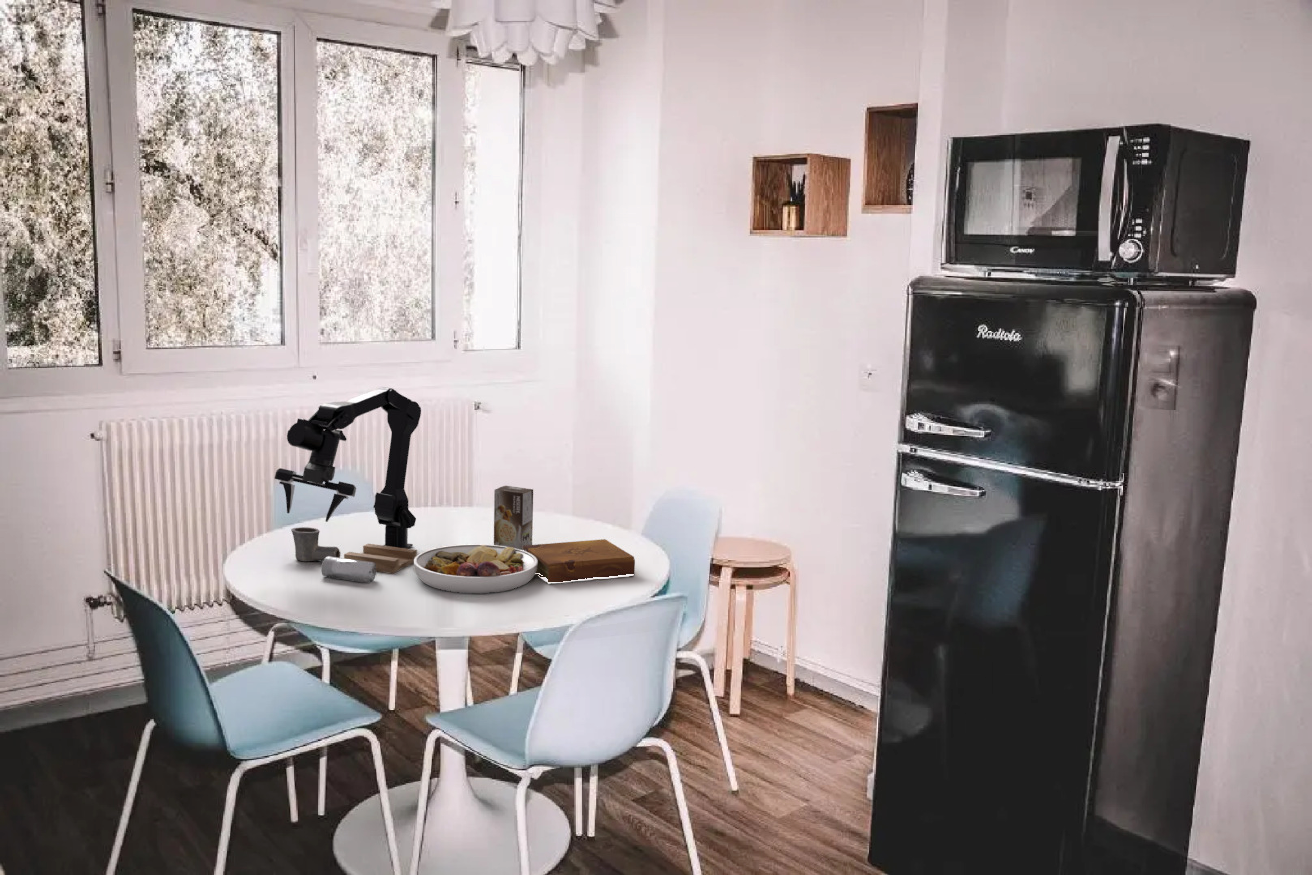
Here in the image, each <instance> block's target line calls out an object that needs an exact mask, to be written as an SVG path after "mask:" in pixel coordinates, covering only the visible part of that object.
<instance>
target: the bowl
mask: <svg viewBox="0 0 1312 875" xmlns="http://www.w3.org/2000/svg"><path fill="white" fill-rule="evenodd" d="M537 567H538V560H537V558H536V557H535V556H534V555H532V554H530V553H528V552H527V551H525V550H524V551H523V550H520V549H516V548H513V547H512V548H511V547H505V546H498V545H494V544H480V543H474V544H473V543H472V544H468V543H467V544H466V543H465V544H454V545H445V546H440V547H435V548H430V549H427V550H425V551H422V552H421V553H419V554H418V553H417V556H416V557H415V559H414V563H413V568H414V569H413V570H414V572H415V575H416V576H417V578H418V579H419V580H421V581H422V582H423V583H424V584H426V585H428V586H429V587H431V588H434V589H437V590H440V589H441V591H445V590H446V592H450V591H451V593H457V592H459V594H472V593H480V594H490V593H489V592H495V593H500V592H499V591H502V592H506V591H505V590H507V591H511V590H514V588H515V589H517V587H518V588H520V587H522V586H524V585H526V584H527V583H529V582H530V581H531V580H532V579H533V578H534V577H535V576H536V575H535V573H536V571H537Z"/></svg>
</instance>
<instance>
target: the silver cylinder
mask: <svg viewBox="0 0 1312 875" xmlns="http://www.w3.org/2000/svg"><path fill="white" fill-rule="evenodd" d="M320 570H321V575H322V576H323V577H324V578H331V579H336V580H337V579H338V580H345V581H351V582H358V583H366V584H370V583H373V582H374V581H375V579H376V577H377V571H376V565H375V563H373V562H366V561H359V560H352V559H345V558H344V557H340V558H337V557H330V556H327V557H326V558H325V559H324V560H323V561H322V564H321V569H320Z"/></svg>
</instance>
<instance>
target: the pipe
mask: <svg viewBox="0 0 1312 875" xmlns="http://www.w3.org/2000/svg"><path fill="white" fill-rule="evenodd" d="M290 530H291V531H290V532H291V533H292V538H293V542H294V547H295V548H294V549H295V551H294V552H295V558H296V560H297V561H300V562H313V561H315V562H323V560H324V559H325V558H326V557H327V556H330V557H337V558H341V551H340V549H339V547H338V546H324V545H323V546H321V545H319V538H320V537H319V536H320V535H319V534H320V532H321V531H320V529H318V528H315V527H306V526H305V527H303V526H301V527H293V528H291V529H290Z"/></svg>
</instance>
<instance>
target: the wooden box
mask: <svg viewBox="0 0 1312 875" xmlns="http://www.w3.org/2000/svg"><path fill="white" fill-rule="evenodd" d="M523 549H524V551H526V552H528V553H530V554H532V555H534V556H535V557H536V558H537V560H538V567H537V571H536V573H540V574H541V575H543V576H541V575H539V574H537V575H539V576H540V577H546V578H547V579H548V582H563V581H571V580H578V579H585V578H586V579H587V578H593V577H609V576H618V575H626V574H634V575H635V566H636V565H635V564H636V560H635V556H634V555H632V554H631V553H629V552H627V551H626V550H624V549H622V548H620V547H619V546H617V545H616V544H614V543H612V542H611V541H609V540H608V539H605V538H603V539H591V540H579V541H565V542H563V541H562V542H553V543H552V542H550V543H541V544H540V543H539V544H532V545H525V546H523ZM537 575H536V576H537Z"/></svg>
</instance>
